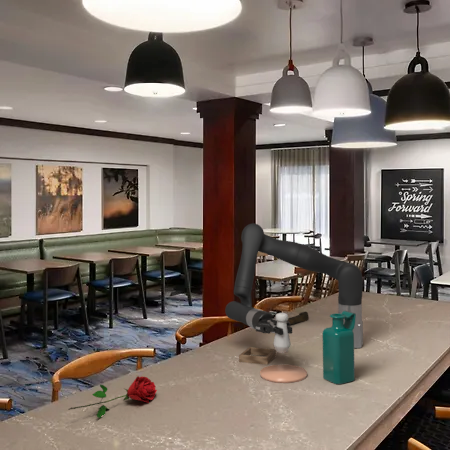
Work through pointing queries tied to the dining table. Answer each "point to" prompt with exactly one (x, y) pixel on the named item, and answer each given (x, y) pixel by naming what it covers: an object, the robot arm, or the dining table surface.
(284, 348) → the salt shaker
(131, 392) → the flower
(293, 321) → the hand tool
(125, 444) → the dining table surface
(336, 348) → the pitcher
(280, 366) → the terracotta pad
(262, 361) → the brown wooden square frame
